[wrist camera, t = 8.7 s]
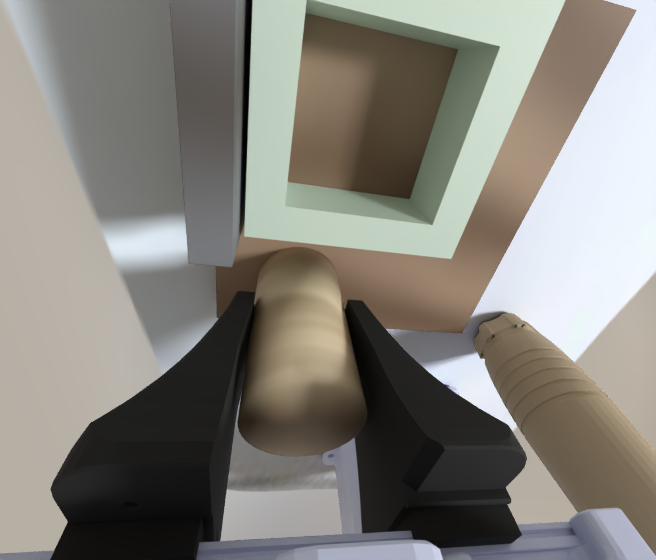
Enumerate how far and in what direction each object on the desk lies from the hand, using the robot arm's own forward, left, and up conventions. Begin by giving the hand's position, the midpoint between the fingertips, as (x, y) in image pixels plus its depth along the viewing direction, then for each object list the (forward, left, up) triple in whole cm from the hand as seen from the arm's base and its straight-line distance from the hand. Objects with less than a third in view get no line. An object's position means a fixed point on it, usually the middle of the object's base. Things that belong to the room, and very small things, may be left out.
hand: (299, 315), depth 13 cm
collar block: (+7, -1, -2) cm, 8 cm away
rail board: (+5, -3, -3) cm, 6 cm away
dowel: (0, 0, -2) cm, 2 cm away
